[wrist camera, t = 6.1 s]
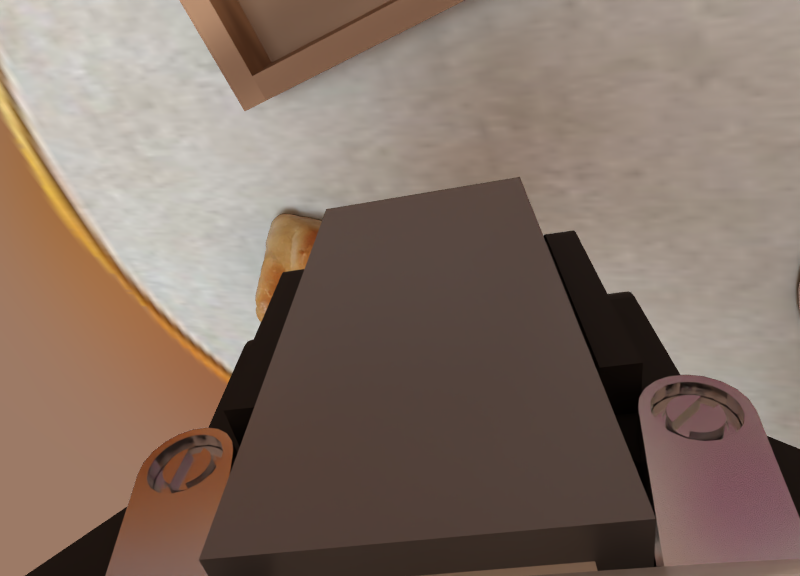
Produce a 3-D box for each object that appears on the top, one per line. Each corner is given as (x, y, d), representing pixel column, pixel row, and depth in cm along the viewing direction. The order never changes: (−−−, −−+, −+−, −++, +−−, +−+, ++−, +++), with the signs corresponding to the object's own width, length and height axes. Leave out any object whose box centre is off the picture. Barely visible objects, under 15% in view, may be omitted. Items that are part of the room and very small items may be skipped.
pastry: (452, 240, 30) (453, 277, 27) (422, 342, 34) (420, 386, 30) (272, 201, 30) (251, 234, 26) (260, 309, 33) (241, 350, 30)
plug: (534, 338, 14) (678, 858, 6) (367, 360, 14) (299, 865, 6) (519, 176, 12) (706, 646, 4) (326, 209, 12) (155, 680, 4)
